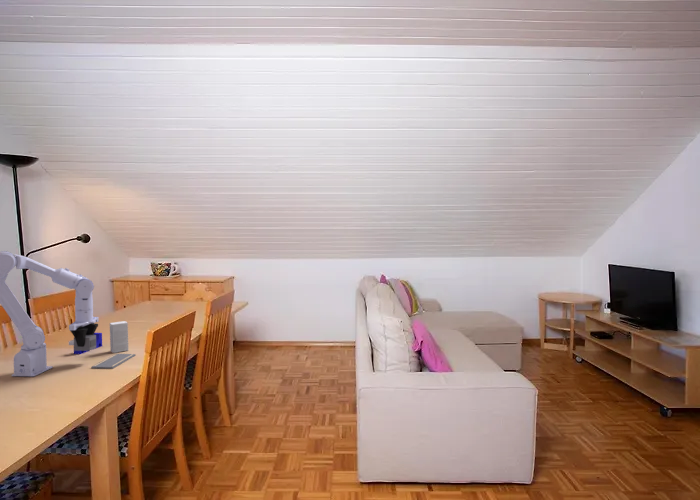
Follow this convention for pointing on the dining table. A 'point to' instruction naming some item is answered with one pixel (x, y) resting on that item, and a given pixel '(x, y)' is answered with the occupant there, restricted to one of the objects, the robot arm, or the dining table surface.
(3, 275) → the robot arm
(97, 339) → the blue notched bracket
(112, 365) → the felt mat
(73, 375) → the dining table surface
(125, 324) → the skincare box
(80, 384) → the dining table surface
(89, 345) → the plug
